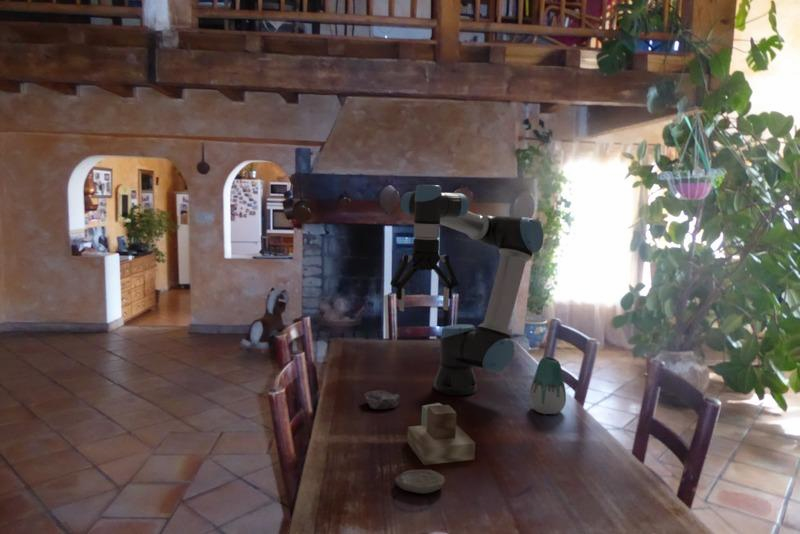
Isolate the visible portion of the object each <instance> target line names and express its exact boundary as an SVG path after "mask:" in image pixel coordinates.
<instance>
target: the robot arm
mask: <svg viewBox="0 0 800 534" xmlns="http://www.w3.org/2000/svg"><path fill="white" fill-rule="evenodd" d="M400 208H401V211H402V212H403V213H404V214H405V215H406V216H411V217H413V216H414V218H413V219H414V221H413V222H414V223H413V237H415V238H413V241H412V242H413V243H412V244H413V245H412V246H413V247H412V254H411V255H408V254H405V253H404V254H402V256H401V261H400V263H399V265H398V267H397V270H396V272H395V273H394V275H393V277H392V279H391V281H390V283H389V284H390V286H392V287H394V288H396V292H395V293H396V297H395V298H396V299H397V300H399V301H398V303H399V305H398V310H399V311H400V312H405V292H406V291H405V288H403V287H404V286H405V285H406V284H407V283H408V282H409V281H410V279H411V278H412V277H413V276H414V274H415V273H416V272H418V271H419V270H420V271H432V270H433V272H435V274H436V275H437V276H438V277H439V279H440V280H441V281H442V283H443V284H444V285H445V286H444V287H443V293H442V294H443V295H442V299H443V300H442V309H443V310H444V311H449V299H452V296H453V289H454V287H458V286H459V281H458V279H457V277H456V274H455V273H454V270H453V268H452V265H451V263H450V256H449V255H448V254H443V255H442V254H441V255H440V253H439V252H440V240H439V239H438V238H440V235H441V233H440V231H441V230H440V228H441V226H440V225H442V226H445V227H448V228H450V229H452V230H456V231H458V232H461V233H464V234H466V235H467V236H468V237H469V238H470V239H472V240H474V241H477V242H479V243H481V244H484V245H486V246H489V247H492V248H495V249H498V252H499V254H500V256H501V257H500V261H499V264H498V267H497V271H496V275H495V279H494V281H493V287H492V289H491V290H492V291H491V293H490V298H489V301H488V305H487V309H486V312H485V316H484V318H483V319H484V320H483V322H482V323H480V324H479V325H477V329H476V328H475V325H473V324H467V323H466V324H463V323H460V324H450V325H445V326H444V327H442V329H441V334H440V349H439V350H440V355H439V368H438V370H437V372H436V373H437V374H436V376H435V379H434V382H433V389H435V391H436V392H439V393H441V394H445V395H451V396H467V395H472V394H474V393H476V391H477V385H478V384H477V381H476V377H475V372H474V370H473V367H476V368H479V369H480V368H481V369H484V370H486V371H487V372H488V371H489V372H490V371H492V372H495V373H499V372H502V371H505V370H506V369H507V367H509V365H510V364H511V362H512V361H513V359H514V356H515V352H516V351H515V343H514V341H513V340H512V339H511V338H512V334H511V331H510V330H509V328H510V325H511V320H512V316H513V312H514V309H515V304H516V302H517V298H518V294H519V290H520V286H521V283H522V279H523V275H524V272H525V268H526V267H525V266H526V263H527V262H529V261H531V260H532V259H533V258H532V257H533V254H534V253H535V254H536V253H538V252H539V251H540V250H541V249H542V248H543V246H544V245H543V243H544V230H543V227H542V225H541V223H540V221H538V220H537V219H535V218H533V217H527V216H522V217H521V216H507V215H505V216H504V215H488V214H483V213H479V212H476V213H474V212H472V211H469V209H470V202H469V198H468V197H467V195H465V194H463V193H461V192H442V186H441V185H439V184H438V185H437V184H418V185H417V186H415V190H414V191H407V192H405V193H404V194H403V195H402V197H401V200H400ZM410 261H412V263H413V264H412V265H410V267H409V269H408V271H406V273H405V274H404V275H403V273H404V271H405V269H406V268H407V265H408V263H410ZM440 261H441V263H443V266H444V268H445V272H446V273H447V275H448V277H449V279H448V277H447V276H446V275H445V274H444V272H443V271H442V269H441V268H440V266H439V265H438V264H439V262H440ZM402 275H403V276H402ZM401 277H402V278H401Z"/></svg>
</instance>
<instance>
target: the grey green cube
mask: <svg viewBox="0 0 800 534" xmlns="http://www.w3.org/2000/svg"><path fill="white" fill-rule="evenodd" d="M438 405H443V404H442V403H440V402H435V403H431V404H425V405H422V406H421V421H420V422H421V425H420V426H423V425H427V412H428V406H438Z"/></svg>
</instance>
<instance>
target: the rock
mask: <svg viewBox="0 0 800 534" xmlns="http://www.w3.org/2000/svg"><path fill="white" fill-rule="evenodd" d="M363 396H364V398H365V401H366V402H367V405H368V406H369V408H370V409H372V410H386V409H388V410H389V409H394V408H397V407H398V405H399V404H400V395H399V393H391V392H389V391H385V390H381V389H376V390H372V391H366V392H364V395H363Z"/></svg>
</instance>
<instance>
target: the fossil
mask: <svg viewBox="0 0 800 534" xmlns="http://www.w3.org/2000/svg"><path fill="white" fill-rule="evenodd" d="M445 480H446V479H445V476H444V475H442V474H441V473H439V472H437V471H435V470H432V469H410V470H406V471H403V472H402V473H400V474H399V475H398V476H396V477H395V483H396V485H397V486H398V487H399V488H400V489H402V490H404V491H405V492H410V493H416V494H430V493H434V492H436V491H438V490H441V489H442V488H443V487H444V484H445V482H446V481H445Z"/></svg>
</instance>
